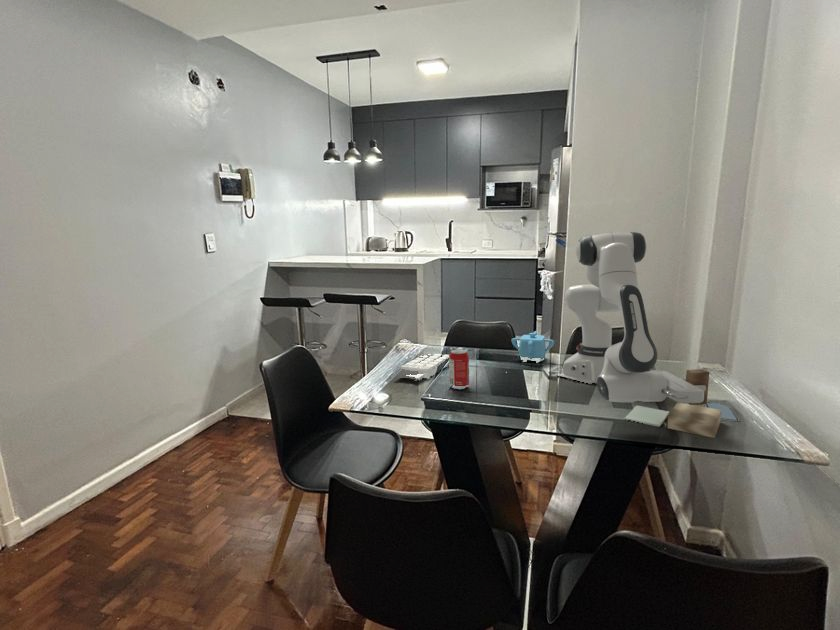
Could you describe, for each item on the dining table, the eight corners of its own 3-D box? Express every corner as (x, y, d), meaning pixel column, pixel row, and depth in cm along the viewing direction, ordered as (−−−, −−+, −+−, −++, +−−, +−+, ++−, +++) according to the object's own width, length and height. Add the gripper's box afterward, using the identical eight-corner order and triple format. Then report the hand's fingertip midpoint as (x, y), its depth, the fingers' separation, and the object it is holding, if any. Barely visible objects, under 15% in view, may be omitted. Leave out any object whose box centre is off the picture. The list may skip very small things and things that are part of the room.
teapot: (557, 362, 214) (557, 334, 212) (526, 366, 209) (527, 337, 207) (535, 354, 231) (535, 328, 229) (507, 357, 226) (507, 331, 224)
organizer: (451, 355, 215) (419, 374, 184) (451, 364, 216) (420, 385, 185) (426, 352, 221) (391, 371, 190) (426, 362, 222) (392, 382, 191)
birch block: (667, 428, 136) (668, 415, 135) (676, 414, 147) (677, 402, 146) (714, 437, 128) (715, 424, 128) (720, 422, 139) (721, 410, 139)
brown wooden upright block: (690, 404, 135) (692, 372, 134) (684, 401, 138) (686, 369, 137) (706, 404, 135) (709, 372, 134) (700, 400, 138) (702, 369, 137)
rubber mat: (624, 419, 143) (624, 418, 143) (636, 407, 154) (636, 405, 154) (659, 427, 137) (659, 425, 137) (669, 413, 148) (669, 411, 147)
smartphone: (712, 418, 142) (703, 401, 156) (712, 421, 142) (703, 404, 156) (740, 421, 139) (728, 404, 153) (740, 424, 139) (728, 406, 153)
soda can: (446, 389, 178) (445, 352, 176) (454, 384, 185) (453, 348, 182) (464, 392, 174) (464, 354, 172) (472, 386, 181) (471, 349, 179)
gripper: (674, 387, 125) (724, 386, 125) (638, 367, 145) (680, 365, 145) (672, 409, 126) (722, 407, 126) (637, 386, 146) (679, 384, 146)
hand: (699, 385), depth 136 cm, fingers closed on brown wooden upright block, 3 cm apart
